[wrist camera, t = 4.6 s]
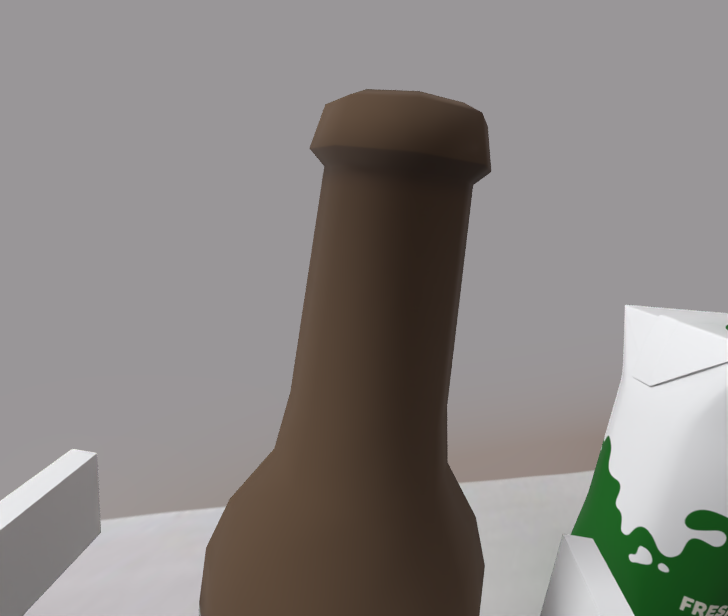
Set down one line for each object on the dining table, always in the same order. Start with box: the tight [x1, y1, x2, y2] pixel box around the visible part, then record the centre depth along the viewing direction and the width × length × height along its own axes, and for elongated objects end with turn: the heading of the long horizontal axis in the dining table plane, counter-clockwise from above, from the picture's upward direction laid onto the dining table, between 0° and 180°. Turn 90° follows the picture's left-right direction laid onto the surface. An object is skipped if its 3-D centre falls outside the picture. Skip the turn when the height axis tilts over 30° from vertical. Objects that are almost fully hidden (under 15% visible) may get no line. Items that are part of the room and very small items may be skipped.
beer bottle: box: [199, 89, 491, 616], centre depth 12 cm, size 8×8×24 cm
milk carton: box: [571, 305, 728, 616], centre depth 24 cm, size 9×9×20 cm
